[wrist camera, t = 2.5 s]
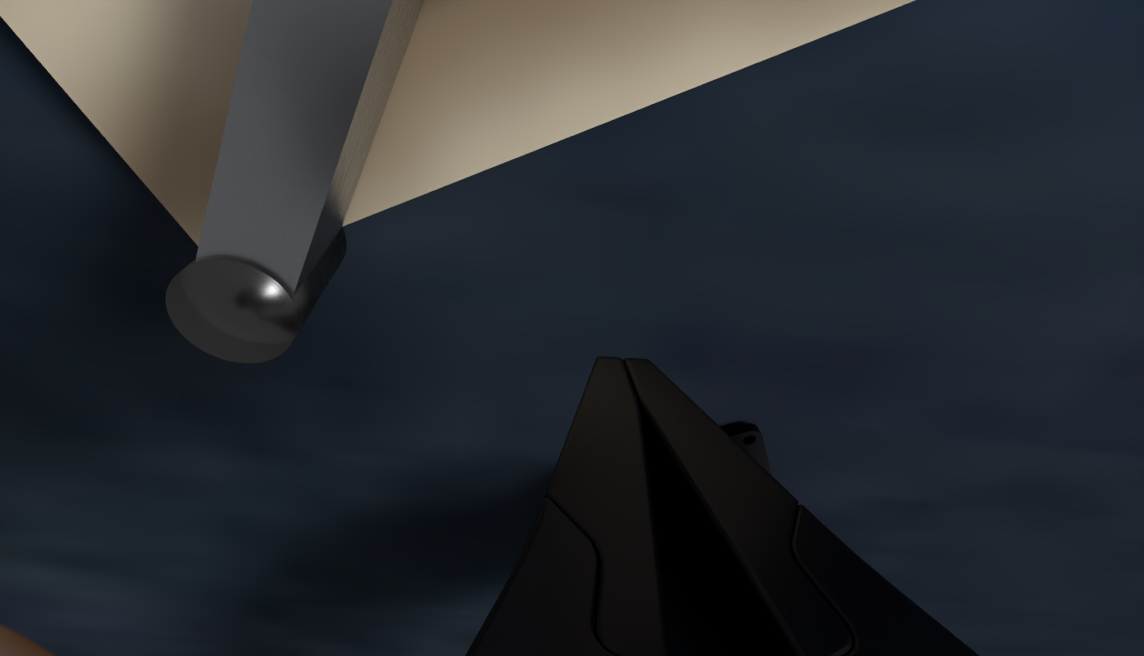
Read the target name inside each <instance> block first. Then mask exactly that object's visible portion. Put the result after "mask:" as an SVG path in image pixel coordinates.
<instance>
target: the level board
mask: <svg viewBox="0 0 1144 656" xmlns="http://www.w3.org/2000/svg"><path fill="white" fill-rule="evenodd" d="M912 1H914V0H425V1H424V3H423V6H422V9H421V11H420V14H419V17H418V20H417V22H416V25H415V28H414V31H413V33H412V36H411V39H410V42H409V44H408V47H407V50H406V53H405V55H404V58H403V61H402V64H401V66H400V69H399V72H398V75H397V77H396V80H395V83H394V86H393V88H392V91H391V94H390V97H389V99H388V102H387V105H386V108H385V110H384V113H383V116H382V118H381V121H380V124H379V127H378V129H377V132H376V135H375V138H374V140H373V143H372V146H371V149H370V151H369V154H368V157H367V160H366V162H365V165H364V168H363V171H362V173H361V176H360V179H359V182H358V184H357V187H356V190H355V193H354V195H353V198H352V201H351V204H350V206H349V209H348V212H347V214H346V217H345V220H344V223H343V225H342V226H345V225H347V224H350V223H352V222H355V221H357V220H360V219H362V218H365V217H368V216H370V215H373V214H375V213H378V212H380V211H383V210H385V209H388V208H390V207H393V206H395V205H398V204H400V203H403V202H406V201H408V200H411V199H413V198H416V197H418V196H421V195H423V194H426V193H428V192H431V191H433V190H436V189H438V188H441V187H443V186H446V185H449V184H451V183H454V182H456V181H459V180H461V179H464V178H466V177H469V176H471V175H474V174H476V173H479V172H481V171H484V170H487V169H489V168H492V167H494V166H497V165H499V164H502V163H504V162H507V161H509V160H512V159H514V158H517V157H519V156H522V155H525V154H527V153H530V152H532V151H535V150H537V149H540V148H542V147H545V146H547V145H550V144H552V143H555V142H557V141H560V140H562V139H565V138H568V137H570V136H573V135H575V134H578V133H580V132H583V131H585V130H588V129H590V128H593V127H595V126H598V125H600V124H603V123H606V122H608V121H611V120H613V119H616V118H618V117H621V116H623V115H626V114H628V113H631V112H633V111H636V110H638V109H641V108H644V107H646V106H649V105H651V104H654V103H656V102H659V101H661V100H664V99H666V98H669V97H671V96H674V95H676V94H679V93H681V92H684V91H687V90H689V89H692V88H694V87H697V86H699V85H702V84H704V83H707V82H709V81H712V80H714V79H717V78H719V77H722V76H725V75H727V74H730V73H732V72H735V71H737V70H740V69H742V68H745V67H747V66H750V65H752V64H755V63H757V62H760V61H762V60H765V59H768V58H770V57H773V56H775V55H778V54H780V53H783V52H785V51H788V50H790V49H793V48H795V47H798V46H800V45H803V44H806V43H808V42H811V41H813V40H816V39H818V38H821V37H823V36H826V35H828V34H831V33H833V32H836V31H838V30H841V29H844V28H846V27H849V26H851V25H854V24H856V23H859V22H861V21H864V20H866V19H869V18H871V17H874V16H876V15H879V14H881V13H884V12H887V11H889V10H892V9H894V8H897V7H899V6H902V5H904V4H907V3H909V2H912ZM251 5H252V0H0V16H1V17H2V18H3V20H4V21H5V22H6V23H7V24H8V25H9V27H10V28H11V29H12V30H13V31H14V32H15V34H16V35H17V36H18V37H19V38H20V39H21V41H22V42H23V43H24V44H25V45H26V46H27V48H28V49H29V50H30V51H31V52H32V53H33V54H34V56H35V57H36V58H37V59H38V60H39V61H40V63H41V64H42V65H43V66H44V67H45V68H46V70H47V71H48V72H49V73H50V74H51V75H52V77H53V78H54V79H55V80H56V81H57V82H58V84H59V85H60V86H61V87H62V88H63V89H64V91H65V92H66V93H67V94H68V95H69V96H70V98H71V99H72V100H73V101H74V102H75V103H76V105H77V106H78V107H79V108H80V109H81V110H82V112H83V113H84V114H85V115H86V116H87V117H88V119H89V120H90V121H91V122H92V123H93V124H94V126H95V127H96V128H97V129H98V130H99V131H100V133H101V134H102V135H103V136H104V137H105V138H106V140H107V141H108V142H109V143H110V144H111V145H112V147H113V148H114V149H115V150H116V151H117V152H118V154H119V155H120V156H121V157H122V158H123V159H124V160H125V162H126V163H127V164H128V165H129V166H130V167H131V169H132V170H133V171H134V172H135V173H136V174H137V176H138V177H139V178H140V179H141V180H142V181H143V183H144V184H145V185H146V186H147V187H148V188H149V190H150V191H151V192H152V193H153V194H154V195H155V197H156V198H157V199H158V200H159V201H160V202H161V204H162V205H163V206H164V207H165V208H166V209H167V211H168V212H169V213H170V214H171V215H172V216H173V218H174V219H175V220H176V221H177V222H178V223H179V225H180V226H181V227H182V228H183V229H184V230H185V232H186V233H187V234H188V235H189V236H190V237H191V239H192V240H193V241H194V242H195V243H196V244H197V246H198V247H199V242H200V238H201V233H202V229H203V224H204V220H205V215H206V210H207V206H208V201H209V197H210V192H211V188H212V183H213V178H214V174H215V169H216V165H217V160H218V156H219V151H220V146H221V142H222V137H223V133H224V128H225V124H226V119H227V114H228V110H229V105H230V101H231V96H232V92H233V87H234V82H235V78H236V73H237V69H238V64H239V60H240V55H241V50H242V46H243V41H244V37H245V32H246V28H247V23H248V18H249V14H250V9H251Z"/></svg>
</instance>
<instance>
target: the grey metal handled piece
mask: <svg viewBox="0 0 1144 656" xmlns="http://www.w3.org/2000/svg"><path fill="white" fill-rule="evenodd" d="M424 1H425V0H252V5H251V9H250V14H249V18H248V23H247V28H246V32H245V37H244V41H243V46H242V50H241V55H240V60H239V64H238V69H237V73H236V78H235V82H234V87H233V92H232V96H231V101H230V105H229V110H228V114H227V119H226V124H225V128H224V133H223V137H222V142H221V146H220V151H219V156H218V160H217V165H216V169H215V174H214V178H213V183H212V188H211V192H210V197H209V201H208V206H207V210H206V215H205V220H204V224H203V229H202V233H201V238H200V242H199V247H198V252H197V256H196V258H195V259H194V260H193V261H192V262H190V263H189V264H188V265H187V266H186V267H185V268H184V269H183V270H182V271H180V272H179V273H178V274H177V275H176V276H175V277H174V278H173V279H172V281H171V282H170V284H169V286H168V288H167V291H166V298H165V300H166V308H167V312H168V314H169V317H170V319H171V321H172V322H173V324H174V326H175V327H176V328H177V330H178V331H179V332H180V333H181V334H182V335H183V336H184V337H185V338H186V339H187V340H188V341H189V342H191V343H192V344H193V345H195V346H196V347H197V348H199V349H201V350H203V351H204V352H206V353H208V354H210V355H212V356H215V357H218V358H220V359H224V360H227V361H231V362H237V363H260V362H265V361H269V360H272V359H274V358H276V357H278V356H280V355H281V354H282V353H284V352H285V351H286V350H287V349H288V348H289V346H290V345H291V343H292V342H293V340H294V338H295V337H296V335H297V333H298V332H299V330H300V329H301V327H302V325H303V324H304V322H305V320H306V319H307V317H308V316H309V314H310V312H311V311H312V309H313V307H314V306H315V304H316V303H317V301H318V299H319V298H320V296H321V294H322V293H323V291H324V289H325V288H326V286H327V285H328V283H329V281H330V280H331V278H332V276H333V275H334V273H335V272H336V270H337V268H338V267H339V265H340V263H341V262H342V260H343V258H344V256H345V252H346V237H345V233H344V230H343V228H342V225H343V223H344V220H345V217H346V214H347V212H348V209H349V206H350V204H351V201H352V198H353V195H354V193H355V190H356V187H357V184H358V182H359V179H360V176H361V173H362V171H363V168H364V165H365V162H366V160H367V157H368V154H369V151H370V149H371V146H372V143H373V140H374V138H375V135H376V132H377V129H378V127H379V124H380V121H381V118H382V116H383V113H384V110H385V108H386V105H387V102H388V99H389V97H390V94H391V91H392V88H393V86H394V83H395V80H396V77H397V75H398V72H399V69H400V66H401V64H402V61H403V58H404V55H405V53H406V50H407V47H408V44H409V42H410V39H411V36H412V33H413V31H414V28H415V25H416V22H417V20H418V17H419V14H420V11H421V9H422V6H423V3H424Z"/></svg>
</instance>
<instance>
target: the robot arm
mask: <svg viewBox="0 0 1144 656" xmlns="http://www.w3.org/2000/svg"><path fill="white" fill-rule="evenodd" d="M747 436H748V437H747ZM465 656H979V655H978V654H977V653H975V652H974V651H973V650H972V649H970V648H969V647H968V646H967V645H966V644H964V643H963V642H962V641H961V640H959V639H958V638H957V637H956V636H955V635H953V634H952V633H951V632H950V631H948V630H947V629H946V628H945V627H943V626H942V625H941V624H940V623H939V622H937V621H936V620H935V619H934V618H932V617H931V616H930V615H929V614H928V613H926V612H925V611H924V610H923V609H921V608H920V607H919V606H918V605H916V604H915V603H914V602H913V601H912V600H910V599H909V598H908V597H907V596H905V595H904V594H903V593H902V592H901V591H899V590H898V589H897V588H896V587H894V586H893V585H892V584H891V583H890V582H889V581H887V580H886V579H885V578H884V577H883V576H881V575H880V574H879V573H878V572H877V571H875V570H874V569H873V568H872V567H871V566H870V565H868V564H867V563H866V562H865V561H864V560H862V559H861V558H860V557H859V556H858V555H856V554H855V553H854V552H853V551H852V550H851V549H850V548H849V547H848V546H847V545H845V544H844V543H843V542H842V541H841V540H840V539H839V538H838V537H837V536H836V535H834V534H833V533H832V532H831V531H830V530H829V529H828V528H827V527H826V526H825V525H823V524H822V523H821V522H820V521H819V520H818V519H817V518H816V517H815V516H814V515H813V514H812V513H811V512H810V511H809V510H808V509H807V508H805V507H804V506H803V505H798V500H797V499H796V498H795V497H794V496H793V495H791V494H790V493H789V492H788V491H787V490H786V489H785V488H784V487H783V486H782V485H781V484H780V483H779V482H778V481H777V480H776V479H775V478H773V477H772V476H771V472H770V468H769V464H768V459H767V455H766V451H765V446H764V442H763V437H762V435H761V433H760V431H759V429H758V427H757V426H756V425H754V424H750V423H748V424H742V425H739V426H736V427H732V428H729V429H726V430H723V429H722V428H721V427H720V426H719V425H717V424H716V423H715V422H714V421H713V420H712V419H711V418H710V417H709V416H708V415H707V414H706V413H705V412H704V411H703V410H702V409H701V408H700V407H698V406H697V405H696V404H695V403H694V402H693V401H692V400H691V399H690V398H689V397H688V396H687V395H686V394H685V393H684V392H683V391H682V390H680V389H679V388H678V387H677V386H676V385H675V384H674V383H673V382H672V381H671V380H670V379H669V378H668V377H667V376H666V375H665V374H664V373H663V372H661V371H660V370H659V369H658V368H657V367H656V366H655V365H654V364H653V363H652V362H651V361H649V360H647V359H637V358H625V359H624V360H622V359H621V358H618V357H602V356H600V357H597V359H596V361H595V363H594V366H593V369H592V371H591V374H590V377H589V379H588V382H587V385H586V387H585V390H584V393H583V395H582V398H581V401H580V403H579V406H578V409H577V411H576V414H575V417H574V419H573V422H572V425H571V427H570V430H569V433H568V435H567V438H566V441H565V443H564V446H563V449H562V451H561V454H560V457H559V459H558V462H557V465H556V468H555V470H554V473H553V476H552V478H551V481H550V484H549V486H548V489H547V492H546V494H545V499H544V500H543V501H542V504H541V507H540V509H539V512H538V515H537V517H536V520H535V523H534V525H533V527H532V530H531V532H530V534H529V537H528V539H527V542H526V544H525V546H524V549H523V551H522V553H521V555H520V557H519V559H518V561H517V563H516V565H515V567H514V569H513V571H512V572H511V574H510V576H509V578H508V580H507V582H506V584H505V586H504V588H503V590H502V592H501V593H500V595H499V597H498V599H497V601H496V602H495V604H494V606H493V608H492V609H491V611H490V613H489V615H488V616H487V618H486V620H485V622H484V624H483V625H482V627H481V629H480V631H479V632H478V634H477V636H476V638H475V639H474V641H473V643H472V645H471V647H470V648H469V650H468V652H467V654H466V655H465Z"/></svg>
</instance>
